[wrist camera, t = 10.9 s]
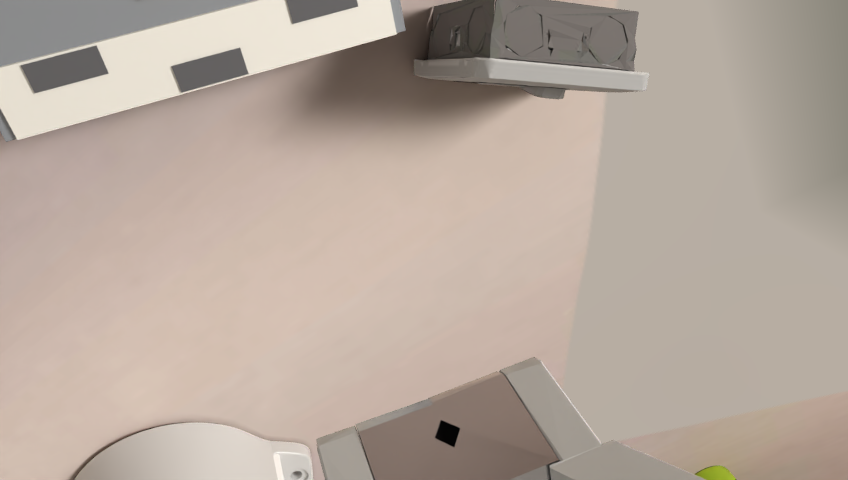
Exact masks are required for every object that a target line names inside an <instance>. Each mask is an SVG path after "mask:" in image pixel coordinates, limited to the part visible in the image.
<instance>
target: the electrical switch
mask: <svg viewBox="0 0 848 480" xmlns="http://www.w3.org/2000/svg"><path fill="white" fill-rule="evenodd" d="M517 6H518V7H517ZM516 7H517V8H516ZM637 20H638V12H636V11H628V10H621V9H613V8H605V7H598V6H590V5H582V4H575V3H567V2H559V1H551V0H496V2H495V12H494V0H462V1H458V2H453V3H448V4H443V5H439V6H434V12H433V26H432V30H431V35H430V40H429V52H428V58H427V60H417V59H414V75H415V76H419V77H423V78H427V79H437V80H448V81H456V82H469V83H478V84H485V85H499V86H516V87H518V88H520V89H522V90H524V91H526V92H528V93H530V94H532V95H534V96H537V97H541V98H550V99H562V98H563V97H564V93H565V90H579V91H597V92H633V91H645V90H646V87H647V81H648V76H649V73H643V72H634V58H635V53H636V43H635V34H636V27H637Z"/></svg>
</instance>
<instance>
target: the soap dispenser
mask: <svg viewBox="0 0 848 480" xmlns="http://www.w3.org/2000/svg"><path fill="white" fill-rule="evenodd" d="M695 475H697V476H699V477H701V478H704V479H706V480H736V479H735V477H734V476H733V475H732V474H731V473H730V472H729V471H728V469H726V468H725V467H723V466H712V467H709V468H706V469H704V470H702V471H700V472H698V473H697V474H695Z"/></svg>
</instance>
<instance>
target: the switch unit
mask: <svg viewBox="0 0 848 480" xmlns="http://www.w3.org/2000/svg"><path fill="white" fill-rule="evenodd" d="M402 31H406V29H405V24H404V19H403V14H402V8H401V3H400V0H0V132H1V134H2V135H3V137H4V139H5V141H6V142H7V141H11V140H14V139H17V140H20V139H23V138H27V137H31V136H34V135H38V134H41V133H45V132H49V131H52V130H56V129H59V128H63V127H67V126H70V125H74V124H77V123H81V122H84V121H88V120H92V119H95V118H99V117H102V116H106V115H110V114H113V113H117V112H120V111H124V110H128V109H131V108H135V107H138V106H142V105H145V104H149V103H153V102H156V101H160V100H163V99H167V98H171V97H174V96H178V95H181V94H185V93H188V92H192V91H196V90H199V89H203V88H206V87H210V86H214V85H217V84H221V83H224V82H228V81H232V80H235V79H239V78H242V77H246V76H249V75H253V74H257V73H260V72H264V71H267V70H271V69H275V68H278V67H282V66H285V65H289V64H293V63H296V62H300V61H303V60H307V59H310V58H314V57H318V56H321V55H325V54H328V53H332V52H336V51H339V50H343V49H346V48H350V47H354V46H357V45H361V44H364V43H368V42H371V41H375V40H379V39H382V38H386V37H389V36H393V35H397V33H399V32H402Z"/></svg>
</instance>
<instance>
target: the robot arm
mask: <svg viewBox="0 0 848 480" xmlns="http://www.w3.org/2000/svg"><path fill="white" fill-rule="evenodd" d="M356 427H357V430H358V432H357V430H356ZM356 427H355V426H352V427H349V428H346V429H343V430H341V431H338V432H335V433H332V434H329V435H326V436H323V437H320V438H318V439H317V451H318V454H319V458H320V462H321V466H322V469H323V473H324V477H325V480H706V479H704V478H701V477H699V476H697V475H694V474H692V473H690V472H687V471H685V470H683V469H680V468H678V467H676V466H673V465H671V464H669V463H666V462H664V461H662V460H659V459H657V458H655V457H652V456H650V455H647V454H645V453H643V452H640V451H638V450H636V449H633V448H631V447H629V446H626V445H624V444H622V443H619V442H617V441H615V440H612V441H609V442H606V443H603V444H602V443H601V442H600V440H599V439H598V438H597V436H596V435H595V433H594V432H593V431H592V429H591V428H590V427H589V425H588V424H587V422H586V421H585V420H584V418H583V417H582V416H581V414H580V413H579V412H578V410H577V409H576V408H575V406H574V405H573V404H572V402H571V401H570V399H569V398H568V397H567V395H566V394H565V393H564V391H563V390H562V389H561V387H560V386H559V385H558V383H557V382H556V380H555V379H554V378H553V376H552V375H551V374H550V372H549V371H548V370H547V368H546V367H545V366H544V364H543V363H542V361H541V360H539V359H537V358H535V357H533V358H530V359H528V360H525V361H522V362H520V363H517V364H515V365H512V366H510V367H507V368H504V369H502V370H500V371H499V372H497V371H496V372H494V373H491V374H489V375H486V376H484V377H481V378H479V379H476V380H473V381H471V382H468V383H466V384H463V385H461V386H458V387H455V388H453V389H450V390H448V391H445V392H443V393H440V394H438V395H435V396H432V397H430V398H428V399H427V400H424V401H421V402H418V403H415V404H412V405H409V406H407V407H404V408H401V409H398V410H395V411H392V412H390V413H387V414H384V415H381V416H378V417H375V418H372V419H370V420H367V421H364V422H361V423H358V424H356ZM358 434H359V435H358ZM359 437H360V438H359ZM360 440H361V441H360ZM361 443H362V444H361ZM362 446H363V447H362ZM363 449H364V450H363ZM364 452H365V453H364ZM295 471H296V472H295ZM74 480H313V471H312V460H311V452H310V450H309V448H308V447H307V446H306V445H303V444H300V443H294V442H283V441H268V440H265V439H262V438H259V437H257V436H255V435H252V434H250V433H248V432H246V431H243V430H240V429H237V428H234V427H230V426H226V425H221V424H214V423H199V422H198V423H179V424H171V425H165V426H161V427H156V428H152V429H149V430H145V431H142V432H139V433H137V434H134V435H132V436H129V437H127V438H125V439H123V440H121V441H119V442H117V443H115V444H113V445H112V446H110V447H108V448H107V449H105V450H104V451H102V452H101V453H99V454H98V455H97V456H95V457H94V458H93V459H92V460H91V461H90V462H89V463H88V464H87V465H86V466H85V467H84V468H83V469H82V470H81V471H80V472H79V474H78V475H77V476H76V478H75V479H74Z"/></svg>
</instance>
